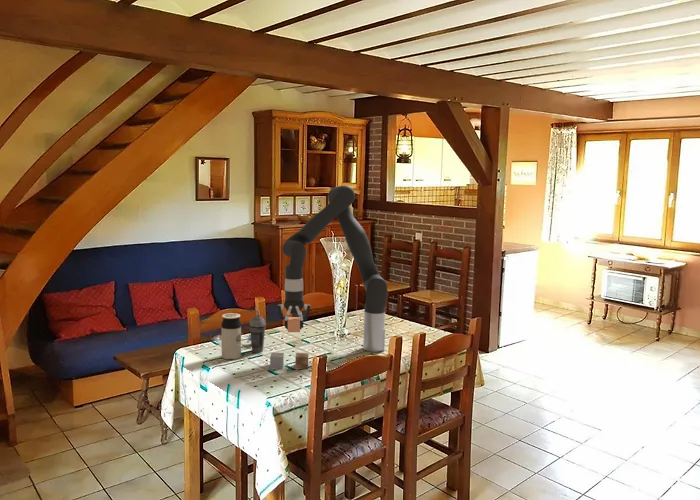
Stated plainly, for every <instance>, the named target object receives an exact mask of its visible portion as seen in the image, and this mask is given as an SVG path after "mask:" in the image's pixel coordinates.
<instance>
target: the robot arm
mask: <svg viewBox="0 0 700 500" xmlns="http://www.w3.org/2000/svg"><path fill="white" fill-rule="evenodd" d="M355 197H356V194H355V191H354V189H353V187H351V186H349V185H339V186H335V187H332V188H330V190H329V192H328V194H327V200H328V202H329V203H327V204H326V206H325V207H324V208H322V209H321V210H320V211H318V213H316V214H315V215H313V216H312V217H311V218H310V219H309V220H308V221H307V222H306V223H305V224H304V225H303V226H302V227H301V229H300V230H299V231H297V232H295V233H294V234H292V235H291V236H289V238H288V239H286V240H285V242H284V243H283V245H282V250H281V251H282V253H283V255H284V256H286V257H288V258H290V260H289V263H287V264H286V265H285V279H284V302H283V303H281V304H277V307H276V308H277V310H278V311H277V312H278V315H279V319H280V320H282V321H284V328H285V329H286V330H288V317H290V315H291V314H297V315H298V317H299V318H300V330H302V329H303V328H304V321H305V320H307V319H308V318H309V314H310V310H311V304H309V303H308V304H307V303H304V279H303V268H304V265H305V260H306V256H307V249H306V244H311V243H313V242H314V241H315V240H316V239H317V237H318V236H319V235H320V234H321V233H322V232H323V231H324V230H325V228H326V227H327V226H328V225H329V224H330V223H331V222H333V220H335V219H337V221H338V223H339V225H340V228H341V231H342V233H343V236H344V238H345V241H346V244H347V247H348V248H349V249H348V250H349V252H350V253H351V256H352V259H353V260H354V262H355V264H356V266H357V267H358V270H359V272H360V276H361V281H362V284H363V288H364V290H365V292H366V293H365V294H366V295H365V296H366V297H365V304H364V309H363V311H364V312H363V313H364V314H363V340H362V341H363V345H362V349H364V351H367V352H373V353H374V352H375V353H376V352H382V351H383V352H384V351H385V342H386V339H385V338H386V328H385V323H386V321H385V320H386V307H387V305H388V302H387V301H388V283H387V281H386V280H385V279H384V278H383V277H382V276H381V274H380V273H379V270H378V269H377V266H376V264H375V262H374V256H373V251H372V246H371V243H370V240H369V238H368V235H367V233H366V230H365V229H364V228H363V226H362V225H361V224H360V223H359V221H358V220H357V219H356V218H355V216H354V214H353V213H352V210H351V208H350V206H351V205H352V204H353V203H354V201H355V200H356V198H355ZM303 308H304V310H305V314H304V315H303V313H302V309H303ZM284 309H285V310H286V311H287V312H286V313H285V315H284V313H283V310H284Z"/></svg>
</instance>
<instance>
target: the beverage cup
mask: <svg viewBox="0 0 700 500" xmlns="http://www.w3.org/2000/svg"><path fill="white" fill-rule="evenodd" d="M255 311H256V312H255V313H256V316H253V317H252V318H251V319H250V321H249V325H248V327H249V331H250V332H251V334H250V335H251V341H250V345H251V349H252V350H251V351H252V353H253V354H255V353H256V354H259V353H263V351H264V346H265V345H264V343H265V335H266V334H265V332H266V327H267V323H266V320H265V319H264V317H262V316H260V315H258V305H256V308H255ZM250 332H249V333H250Z"/></svg>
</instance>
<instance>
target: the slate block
mask: <svg viewBox="0 0 700 500" xmlns="http://www.w3.org/2000/svg"><path fill="white" fill-rule="evenodd" d="M284 354H285V353H284V352H271V353H270V357H269V359H270V360H269V368H270V369H271V370H272V369H273V370H274V369H275V370H283V369H284V364H285V363H284V362H285V361H284V360H285V357H284V356H285V355H284Z"/></svg>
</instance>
